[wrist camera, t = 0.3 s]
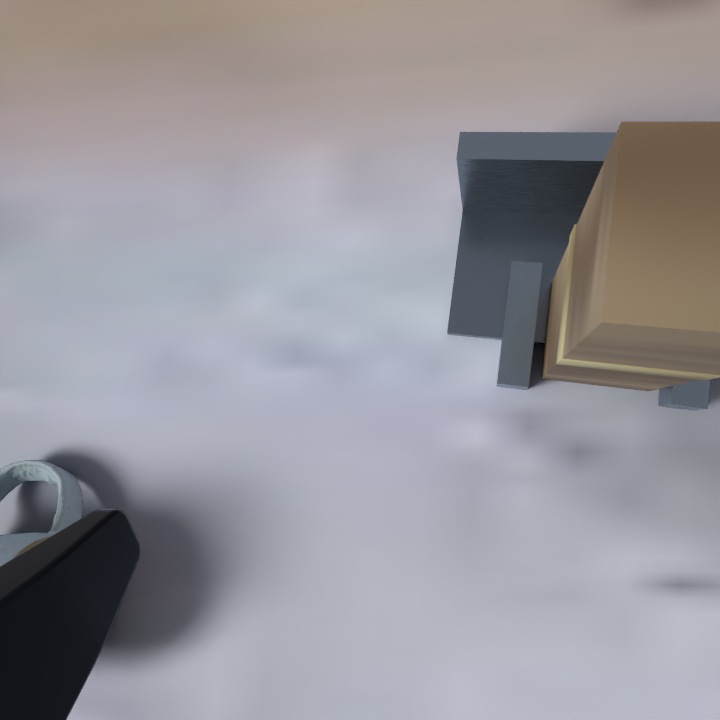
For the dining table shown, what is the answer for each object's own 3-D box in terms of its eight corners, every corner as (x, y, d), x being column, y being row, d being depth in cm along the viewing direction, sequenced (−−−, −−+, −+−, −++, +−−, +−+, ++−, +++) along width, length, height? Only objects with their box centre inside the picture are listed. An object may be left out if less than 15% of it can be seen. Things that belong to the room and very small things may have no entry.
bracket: (761, 418, 20) (848, 415, 15) (442, 379, 23) (429, 367, 18) (775, 202, 21) (863, 133, 16) (465, 192, 24) (459, 131, 19)
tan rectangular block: (649, 392, 20) (858, 347, 9) (539, 379, 21) (598, 324, 10) (659, 289, 21) (871, 118, 9) (550, 282, 22) (618, 119, 10)
